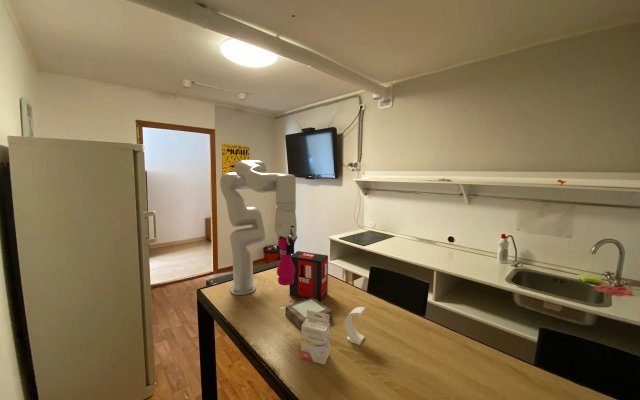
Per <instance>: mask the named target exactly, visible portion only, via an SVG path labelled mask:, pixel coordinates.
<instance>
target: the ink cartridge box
mask: <svg viewBox="0 0 640 400" xmlns="http://www.w3.org/2000/svg"><path fill="white" fill-rule="evenodd" d="M314 315H319V316H322V318H320V317H316V316H314ZM330 328H331V323H330V321H329V315H328V314H324V313H319V312H315V311H310V310H307V318H306V320H305V321H304V323H303V324H302V327H301V329H300V331H301V333H300V335H301V337H300V340H301V341H300V358H301V359H303V360H307V361H310V362H314V363H317V364H320V365H324V366H325V365H326V363H327V360H328V358H329V355H330V333H331V331H330Z"/></svg>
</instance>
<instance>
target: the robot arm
mask: <svg viewBox="0 0 640 400" xmlns="http://www.w3.org/2000/svg"><path fill="white" fill-rule="evenodd" d="M234 171H235V172H226V173H223V174H222V175H221V176H220V180H219V187H220V190H221V193H222V195H223V197H224V200H225V202H226V203H225V204H226V208H227V213H228V214H227V215H228V218H229V221H230V222H229V223H230V225H231V226H232V227H243V228H239V229H236V230H233V231H232V232H231V233H230V236H229V240H230V241H229V242H230V246H231V252H232V253H231V254H232V271H233V273H232V275H233V280H232V281H233V285H232V286H231V287H230V293H231V295H232V294H233V295H234V296H245V295H249V294H252V293H253V292H255V291H256V290H257V285H256V284H255V283H254V274H253V273H254V271H253V268H254V267H253V266H254V264H253V262H254V261H253V254H252V252H251V251H250V250H249V249H248V248H250V247H255V246H259V245H262V244H263V243H265V240H266V231H265V226H264V221H263V217H262V213H261V211H260V209H259V208H258V207H256V206H246V205H245V199H244V197H243V195H241V194H240V192H239V191H238V190H249V189H250V190H253V191H254V192H256V193H257V192H258V193H261V194H262V193H275V216H274V233H275V234H276V235H277V243H278V242H279V240H280V238H282V237H284V238H286V240H287V245H286V254H287V255H290V254H291V255H292V254H294V253H295V244H296V241H297V239H298V235H297V216H296V211H297V208H296V207H297V205H296V204H297V202H296V201H297V195H296V193H297V192H296V191H297V189H296V188H297V185H296V182H297V181H296V180H297V179H296V176H295V175H294V174H289V173H287V174H286V173H282V172H281V173H279V172H278V173H277V172H276V173H275V172H267V166H266V164H265V162H263V161H261V160H254V159H253V160H252V159H251V160H250V159H244V160H239V161H238V162H236V164H235V165H234ZM244 226H245V227H244ZM246 226H251V227H246ZM289 238H292V239H290V241H289ZM277 250H278V251H280V247H279V246H278V245H277Z"/></svg>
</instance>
